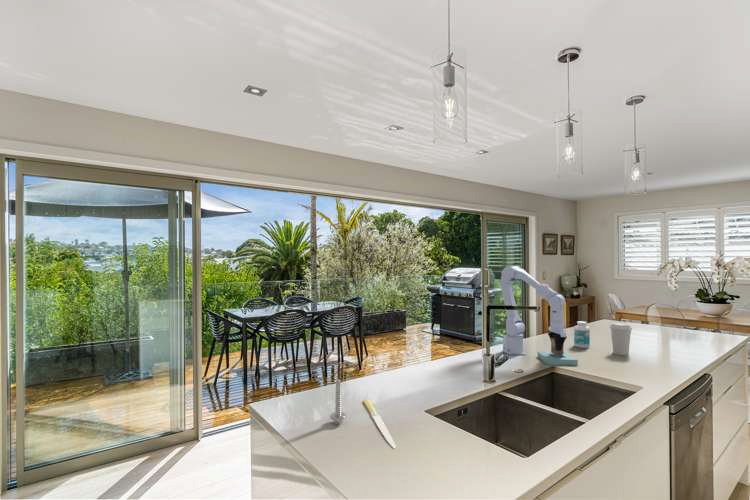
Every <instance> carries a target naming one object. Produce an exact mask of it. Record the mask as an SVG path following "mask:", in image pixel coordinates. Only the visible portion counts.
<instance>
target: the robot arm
mask: <svg viewBox="0 0 750 500" xmlns="http://www.w3.org/2000/svg"><path fill="white" fill-rule="evenodd" d="M500 273H501V277H500V281H499V286H500V290H501V295H502V299H503V302H504V303H503V304H504V306H505V305H512V306H516V307H517V303H516V300H515V295H514V292H513V286H512V285H513V284H514V282H515V281H516V280H522V281H524V282H525V283H526V284H528V285H529V286H531V287H532V288H533V289H535V291H536V294H537V295H538V296H539V297H541V298H542V299H544V300H545V301H546V302H547V304H548V306H550V309H549V310H550V311H549V315H550V316H549V317H550V318H549V325H550V326H548V331H549V332H547V335H548V337H549V341H551V338H554V340H555V344H556V350H557V351H562V347H563V348H564V344H565V342H566V340H567V338H568V337H567V333H566V332H567V329H564V328H565V327H564V326H565V325H564V324H565V321H564V320H565V317H564V315H565V314H564V313H565V311H564V305H565V303H566V298H565V296H564V295H563V294H561V293H558V292H557V291H554V289H552V288H550V285H549V284H546V283H540V282H539V281H537V280H536V278H534V277H533V276H532V275H530V274H529V273H528V272H526V270H525V269H523V268H522V267H520V266H519V265H514V266H513V265H512V266H509V265H508V266H505V267H504V268H503V269H502V270H501V272H500ZM505 311H506V312H505V313H506V317H507V318H506V320H505V325H506V326H505V331H506V335H505V334H504V335H503V336H502V352H504V353H505V354H506V353H507V354H506V355H518V356H519V355H520V356H521V355H522V356H523V355H527V353H526V352H524V332H525V330H526V324H525V323H523V320H522V318H521V316H520V315H519V313H518V309H517V310H506V309H505Z"/></svg>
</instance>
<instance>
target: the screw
mask: <svg viewBox="0 0 750 500" xmlns="http://www.w3.org/2000/svg"><path fill="white" fill-rule="evenodd" d="M334 391H335V394H334V395H335V396H334V397H335V398H334V401H335V402H334V409H335V410H334V412H333V413H331V414H330V415H329V419H330V420H332V421H333V424H334V425H337V426H339V425H341V424H343V423H344V422H343V420H345V419H346V418H347V415H346V414H345V412H343V411H342V388H341V380H340V379H337V380H335V390H334Z"/></svg>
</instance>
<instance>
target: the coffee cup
mask: <svg viewBox="0 0 750 500" xmlns="http://www.w3.org/2000/svg"><path fill="white" fill-rule="evenodd" d="M609 328H610V332H611V341H612V352H613V354H614V355H619V356H629V353H630V343H631V335H632V334H631V333H632V330H633V327H632V326H631V324H630V323H627V322H611V324H610V325H609Z"/></svg>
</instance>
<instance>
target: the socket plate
mask: <svg viewBox="0 0 750 500" xmlns="http://www.w3.org/2000/svg"><path fill="white" fill-rule="evenodd" d="M537 358H539V359H540V360H541V361H542V362H544V363H545V364H546V365H550V366H578V360H579V359H578V358H575V357H574V356H572V355H570V354H568V353H567V352H565V351H563V355H555V354H553V353H551V351H537Z"/></svg>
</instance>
